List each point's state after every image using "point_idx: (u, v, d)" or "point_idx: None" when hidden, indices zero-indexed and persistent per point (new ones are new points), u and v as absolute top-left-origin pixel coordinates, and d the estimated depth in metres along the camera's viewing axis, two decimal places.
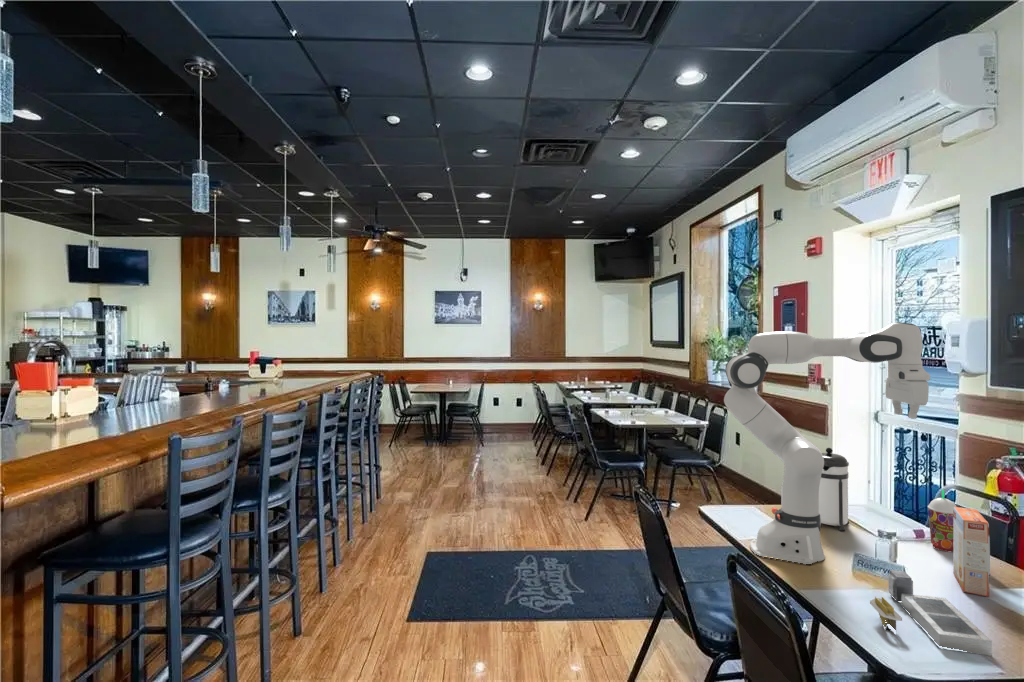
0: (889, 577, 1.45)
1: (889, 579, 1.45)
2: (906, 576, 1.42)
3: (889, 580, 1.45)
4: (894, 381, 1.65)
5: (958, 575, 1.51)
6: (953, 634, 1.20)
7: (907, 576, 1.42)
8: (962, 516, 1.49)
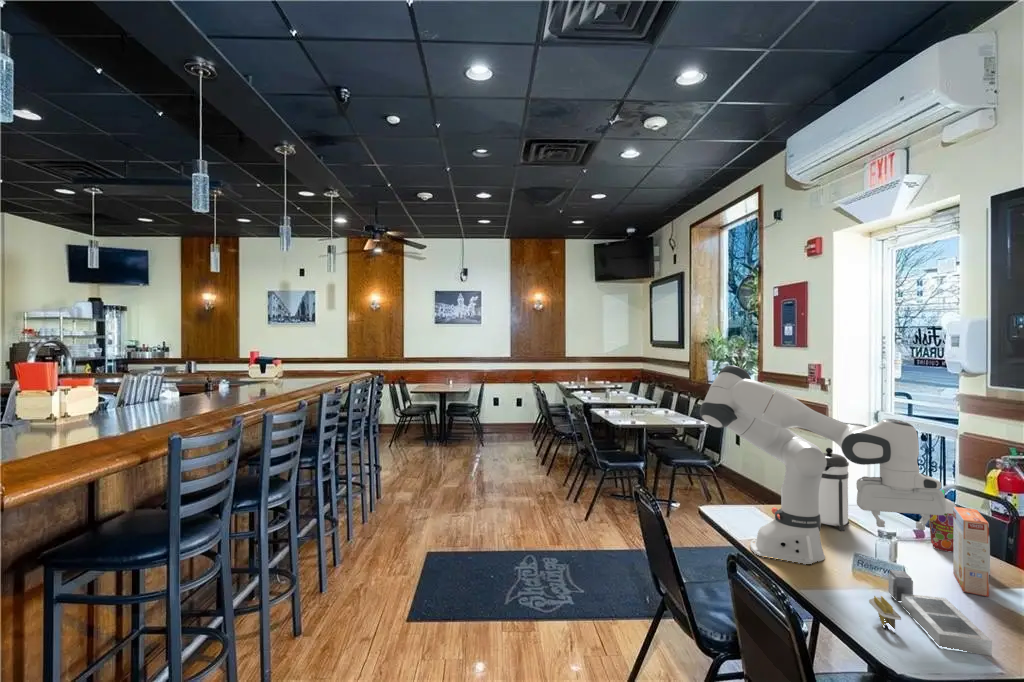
0: (889, 577, 1.45)
1: (889, 579, 1.45)
2: (906, 576, 1.42)
3: (889, 580, 1.45)
4: (906, 491, 1.40)
5: (958, 575, 1.51)
6: (953, 634, 1.20)
7: (907, 576, 1.42)
8: (962, 516, 1.49)
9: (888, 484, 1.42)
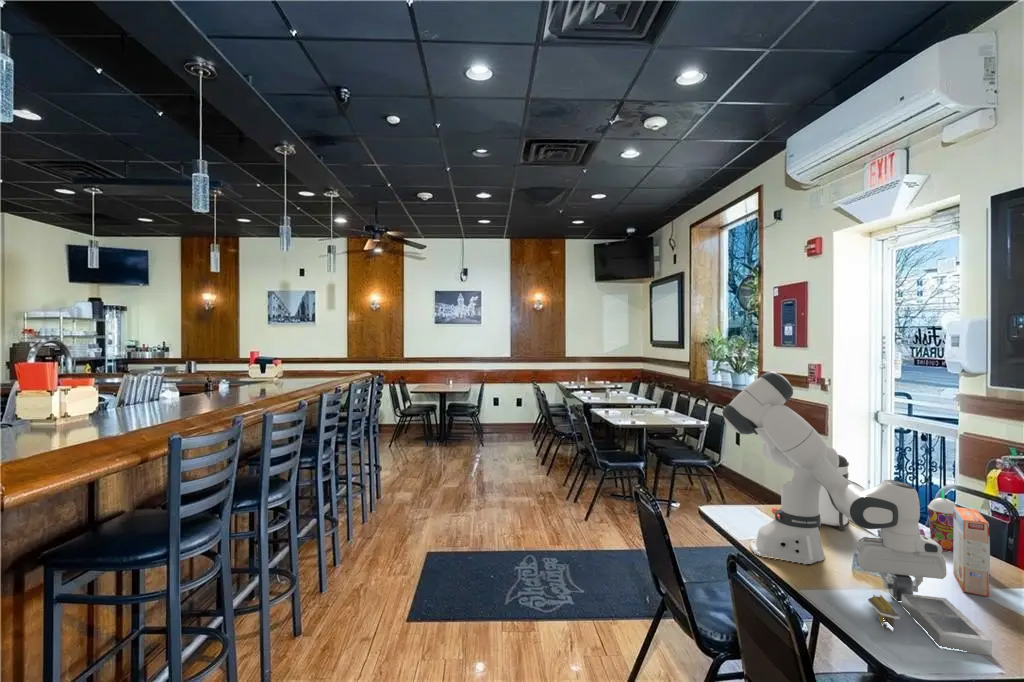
0: (889, 577, 1.45)
1: (889, 579, 1.45)
2: (906, 576, 1.42)
3: (889, 580, 1.45)
4: (907, 554, 1.40)
5: (958, 575, 1.51)
6: (953, 634, 1.20)
7: (907, 576, 1.42)
8: (962, 516, 1.49)
9: (889, 546, 1.42)
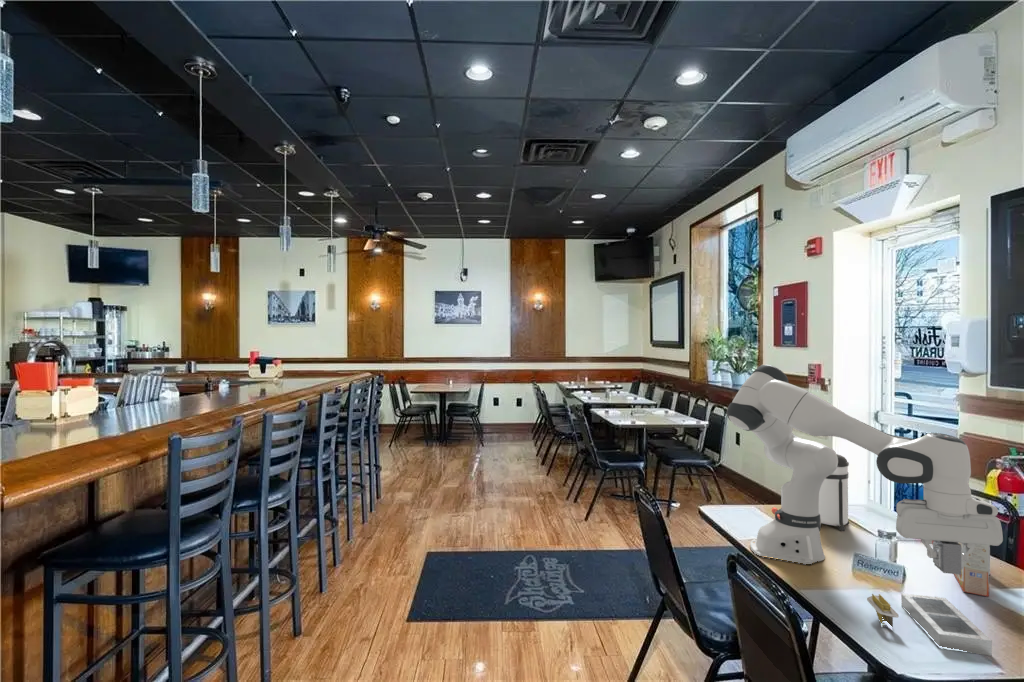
0: (934, 545, 1.26)
1: (934, 547, 1.26)
2: (954, 543, 1.23)
3: (934, 548, 1.26)
4: (955, 517, 1.21)
5: (958, 575, 1.51)
6: (953, 634, 1.20)
7: (956, 543, 1.23)
8: None
9: (934, 508, 1.23)
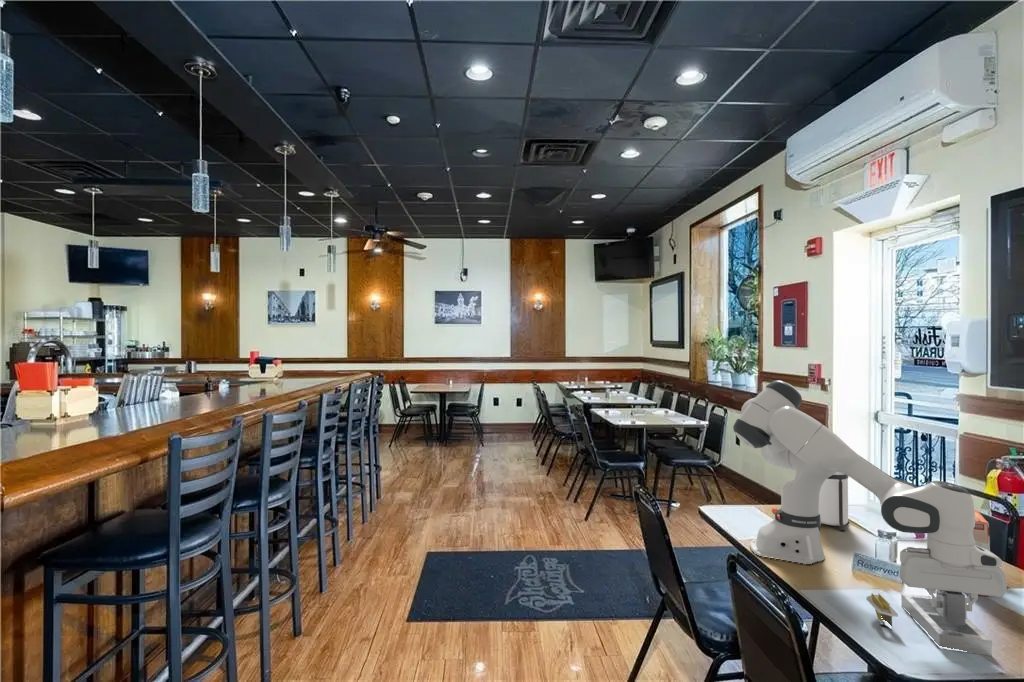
0: (937, 593, 1.26)
1: (937, 596, 1.26)
2: (958, 593, 1.23)
3: (937, 597, 1.26)
4: (959, 567, 1.21)
5: None
6: (953, 634, 1.20)
7: (959, 593, 1.23)
8: None
9: (938, 558, 1.23)
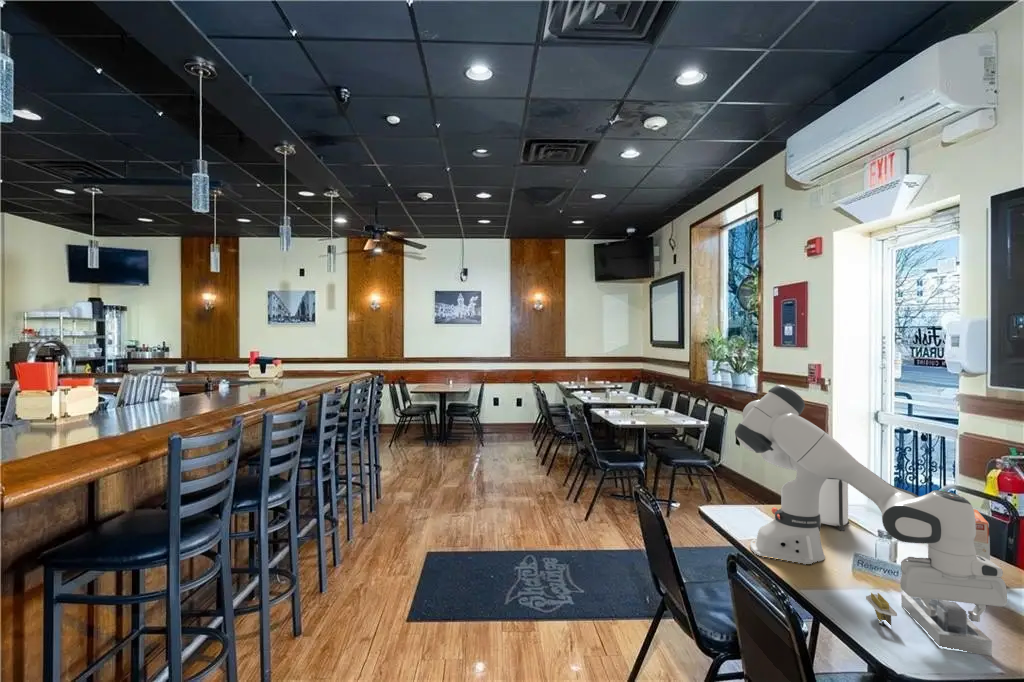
0: (938, 609, 1.26)
1: (938, 611, 1.26)
2: (959, 609, 1.23)
3: (938, 613, 1.26)
4: (960, 577, 1.21)
5: None
6: (953, 634, 1.20)
7: (960, 609, 1.23)
8: None
9: (939, 568, 1.23)
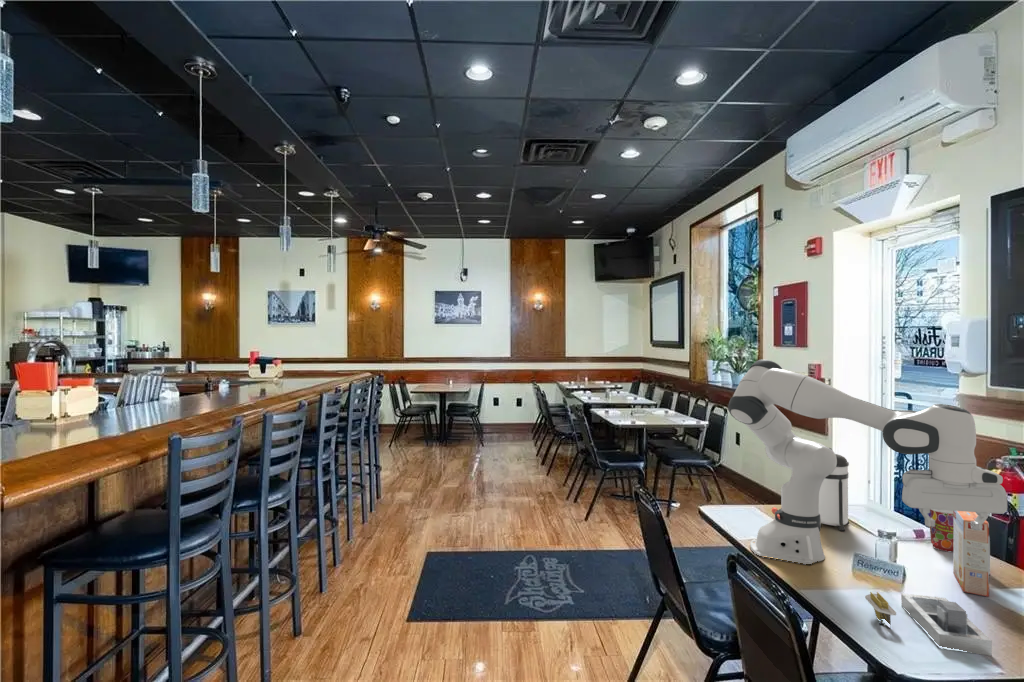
0: (938, 609, 1.26)
1: (938, 611, 1.26)
2: (959, 609, 1.23)
3: (938, 613, 1.26)
4: (961, 486, 1.23)
5: (958, 575, 1.51)
6: (953, 634, 1.20)
7: (960, 609, 1.23)
8: (962, 516, 1.49)
9: (940, 478, 1.25)
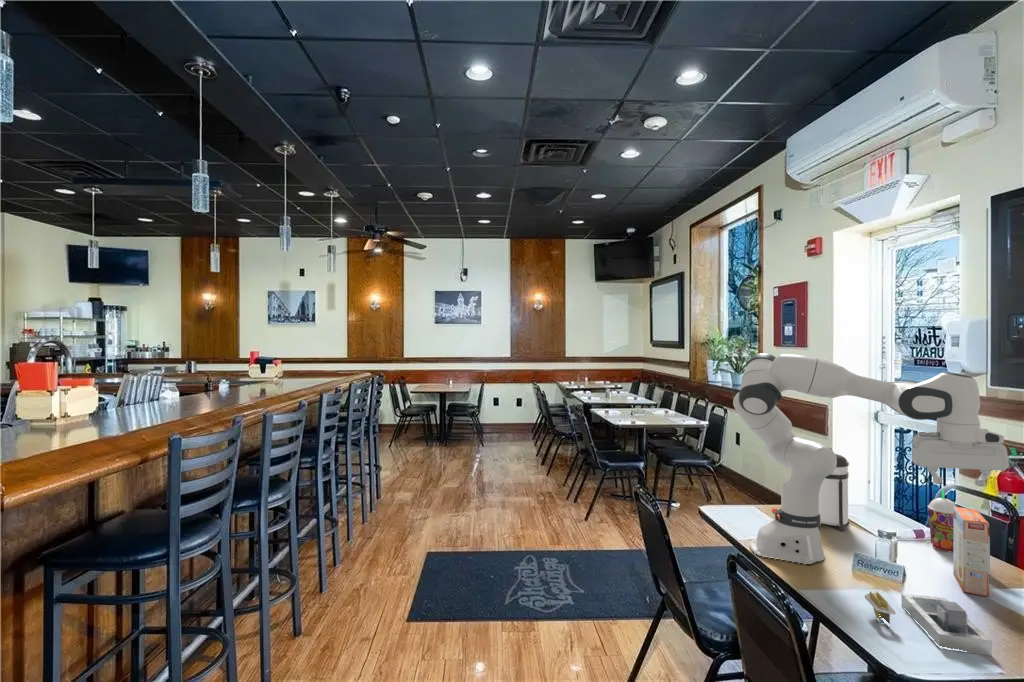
0: (938, 609, 1.26)
1: (938, 611, 1.26)
2: (959, 609, 1.23)
3: (938, 613, 1.26)
4: (966, 445, 1.35)
5: (958, 575, 1.51)
6: (953, 634, 1.20)
7: (960, 609, 1.23)
8: (962, 516, 1.49)
9: (947, 439, 1.37)
